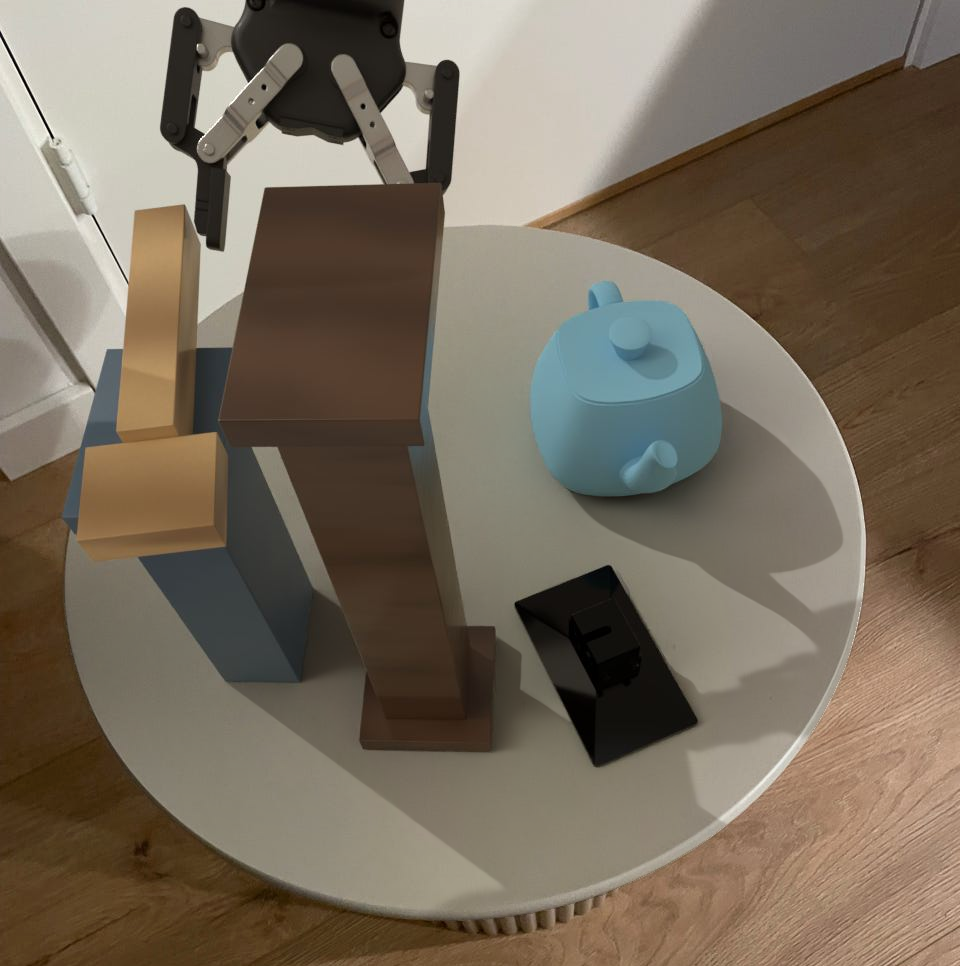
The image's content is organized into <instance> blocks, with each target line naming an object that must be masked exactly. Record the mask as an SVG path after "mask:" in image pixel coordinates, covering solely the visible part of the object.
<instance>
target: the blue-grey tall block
mask: <svg viewBox="0 0 960 966" xmlns="http://www.w3.org/2000/svg"><path fill="white" fill-rule="evenodd" d="M232 348H233V346H231V347H197V348H196V372H195V397H194V421H193V435H195V434H203V433H211V432H217V433H218V435H219V438H220V440H221V442H222V444H223V446H224V448H225V450H226V452H227V454H228V488H227V534H226V547H218V548H209V549H201V550H192V551H183V552H175V553H166V554H158V555H149V556H141V557H137V559H138V561H139V562H140V563H141V565H142V566H143V568H144V569H145V570H146V572H147V573H148V575H149V576H150V577H151V579H152V580H153V581H154V583H155V584H156V586H157V587H158V589H159V590H160V591H161V593H162V595H163V596H164V597H165V599H166V600H167V601H168V604H170V606H171V608H172V609H173V610H174V611H175V613H176V614H177V616H178V618H179V619H180V620H181V621H182V623H183V624H184V626H185V627H186V628H187V630H188V631H189V633H190V634H191V635H192V637H193V638H194V640H195V641H196V642H197V644H198V646H199V647H200V648H201V650H202V651H203V653H204V654H205V655H206V657H207V658H208V659H209V661H210V662H211V664H212V666H213V667H214V668H215V670H216V671H217V673H218V674H219V675H220V677H221V678H222V680H223V681H224V682H238V683H243V682H244V683H245V682H246V683H249V682H250V683H253V682H254V683H301V681H302V680H301V679H302V672H303V666H304V659H305V651H306V643H307V637H308V629H309V621H310V613H311V607H312V599H313V592H314V587H313V585H312V582H311V581H310V578H309V576H308V573H307V571H306V569H305V567H304V564H303V562H302V559H301V557H300V555H299V553H298V551H297V548H296V546H295V543H294V541H293V539H292V537H291V535H290V534H291V533H290V532H289V530H288V527H287V525H286V523H285V521H284V518H283V516H282V514H281V511H280V509H279V507H278V504H277V502H276V500H275V497H274V495H273V493H272V491H271V488H270V486H269V484H268V482H267V479H266V477H265V475H264V472H263V469H262V468H261V465H260V463H259V461H258V458H257V456H256V454H255V452H254V449H253V447H230V446H229V444H228V442H227V440H226V437H225V435H224V433H223V431H222V429H221V427H220V425H219V422H218V418H219V413H220V408H221V403H222V398H223V393H224V388H225V383H226V378H227V373H228V368H229V363H230V358H231V353H232ZM122 356H123V348H106V351H105V355H104V359H103V362H102V366H101V369H100V373H99V377H98V381H97V384H96V388H95V392H94V395H93V398H92V403H91V406H90V410H89V414H88V418H87V420H86V425H85V428H84V432H83V435H82V439H81V443H80V447H79V451H78V454H77V458H76V462H75V465H74V468H73V472H72V477H71V481H70V484H69V488H68V490H67V495H66V498H65V502H64V506H63V510H62V512H61V513H62V514H61V520H63V521H64V523H65V524H66V525H67V526H68V528H69V529H70V531H71V532H72V533H73V534H74V535H77V529H78V519H79V509H80V499H81V489H82V479H83V469H84V459H85V449H86V447H94V446H103V445H111V444H119V443H123V442H122V440H121V438H120V437H119V435H118V433H117V432H116V428H117V416H118V404H119V392H120V380H121V368H122Z"/></svg>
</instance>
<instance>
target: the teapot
mask: <svg viewBox="0 0 960 966" xmlns="http://www.w3.org/2000/svg"><path fill="white" fill-rule="evenodd" d="M587 308H588V309H587V310H586V311H583V312H581V313H578V314H576V315H573V316H572V317H569V318H568V319H567V320H565V321H564V322H563V323H561V325H559V327H557V329H556V330H555V332H554V333H553V334H552V336H551V337H550V339H549V340H548V341H547V344H546V345H545V346H544V348H543V350H542V351H541V353H540V356H539V358H538V359H537V361H536V364H535V367H534V370H533V376H532V379H531V383H530V390H529V413H530V419H531V421H530V422H531V427H532V432H533V436H534V440H535V444H536V446H537V448H538V451H539V453H540V455H541V458H542V461H543V463H544V464H545V466H546V468H547V470H548V472H549V474H550V475H551V476H552V478H553V479H555V481H556V482H558V483H559V484H561V485H562V486H563V487H564V488H566V489H568V490H570V491H572V492H573V493H577V494H580V495H585V496H593V497H626V496H635V495H640V494H653V493H657V492H661V491H663V490H666V489H667V488H669V487H670V486H671V485H673V484H676V483H678V482H680V481H682V480H684V479H686V478H688V477H690V476H692V475H694V474H695V473H697V472H699V471H700V470H702V469H703V468H704V467H705V466H707V464H709V463H710V462H711V461H712V459H713V457H714V456H715V455H716V454H717V452H718V450H719V447H720V446H721V445H720V444H721V439H722V432H723V431H722V430H723V415H722V408H721V400H720V396H719V395H720V394H719V391H718V386H717V381H716V378H715V374H714V371H713V368H712V365H711V362H710V360H709V358H708V355H707V353H706V350H705V348H704V346H703V343H702V342H701V340H700V338H699V335H698V334H697V332H696V330H695V328H694V327H693V325H692V322H691V321H690V319H689V317H688V315H687V314H686V313H685V311H684V310H683V309H682V308H681V307H680V306H678V305H676V304H674V303H672V302H669V301H663V300H654V299H652V300H650V299H649V300H645V299H643V300H630V301H628V300H627V301H624V298H623V296H622V293H621V291H620V288H619V286H618V285H617V284H616V283H615V282H614V281H612V280H600V281H597V282H595V283H593V284H592V285H590V287H589V288H588V293H587Z"/></svg>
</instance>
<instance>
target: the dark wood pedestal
mask: <svg viewBox="0 0 960 966" xmlns="http://www.w3.org/2000/svg"><path fill="white" fill-rule="evenodd" d="M257 218H258V219H257V224H256V229H255V234H254V239H253V244H252V248H251V254H250V259H249V264H248V268H247V273H246V279H245V284H244V288H243V294H242V299H241V304H240V309H239V313H238V318H237V324H236V328H235V332H234V333H235V334H234V338H233V344H232V347H233V348H232V353H231V358H230V363H229V368H228V373H227V378H226V383H225V388H224V393H223V398H222V403H221V408H220V413H219V418H218V422H219V425H220V427H221V429H222V431H223V433H224V435H225V437H226V440H227V442H228V444H229V446H230V447H252V448H277V450H278V453H279V455H280V458H281V460H282V463H283V465H284V468H285V470H286V473H287V475H288V478H289V480H290V483H291V485H292V488H293V491H294V493H295V495H296V498H297V500H298V503H299V504H300V508H301V510H302V513H303V516H304V518H305V520H306V523H307V525H308V529H309V530H310V533H311V535H312V538H313V540H314V543H315V545H316V548H317V550H318V553H319V555H320V558H321V561H322V563H323V565H324V569H325V570H326V573H327V576H328V578H329V580H330V582H331V585H332V586H331V587H332V588H333V590H334V593H335V595H336V598H337V600H338V604H339V606H340V608H341V610H342V613H343V616H344V618H345V620H346V622H347V625H348V628H349V631H350V633H351V636H352V638H353V640H354V643H355V645H356V648H357V650H358V653H359V655H360V658H361V661H362V663H363V666H364V668H365V679H364V686H363V687H364V688H363V697H362V706H361V717H360V724H359V725H360V726H359V735H358V736H359V737H358V742H359V744H360V747H361V748H362V750H364V751H366V750H367V751H409V752H411V751H415V752H416V751H417V752H458V753H459V752H462V753H463V752H464V753H465V752H467V753H468V752H469V753H492V746H493V726H494V725H493V724H494V703H495V702H494V701H495V681H496V680H495V679H496V678H495V677H496V659H497V658H496V657H497V630H496V626H495V625H467V619H466V615H465V608H464V603H463V598H462V592H461V586H460V580H459V575H458V570H457V564H456V557H455V552H454V547H453V541H452V535H451V530H450V524H449V518H448V512H447V507H446V501H445V495H444V491H443V485H442V479H441V473H440V469H439V461H438V456H437V451H436V444H435V439H434V434H433V428H432V422H431V417H430V410H429V400H430V390H431V379H432V367H433V357H434V356H433V355H434V344H435V333H436V332H435V331H436V321H437V311H438V297H439V288H440V287H439V286H440V274H441V263H442V253H443V240H444V232H445V231H444V230H445V218H446V210H445V201H444V195H443V193H442V185H441V183H412V184H383V183H380V184H379V183H376V184H375V183H373V184H341V185H339V184H338V185H337V184H336V185H303V186H302V185H300V186H267V187H264V188H263V194H262V198H261V204H260V208H259V213H258V217H257Z"/></svg>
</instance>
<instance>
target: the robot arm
mask: <svg viewBox="0 0 960 966" xmlns="http://www.w3.org/2000/svg"><path fill="white" fill-rule="evenodd" d="M404 7H405V0H245V1H244V7H243V10H242V13H241V15H240V17H239V19H238V21H237V22H236V24H235V25H234V26H233V25H229V24H225V23H221V22H218V21H214V20H211V19H206V18H202V17H200V16H199V15H198V13H197V11H195V10H194V9H193V8H191V7H187V6H183V7H180V8H178V9H177V10H176V11H175V13H174V15H173V21H172V29H171V36H170V44H169V51H168V60H167V67H166V76H165V83H164V91H163V98H162V107H161V115H160V124H159V131H160V134H161V136H162V137H163V139H164V140H165V141H166V142H167V143H168V144H169V145H170V147H171V148H172V149H173V150H175V151H177V152H180V153H182V154H184V155H185V156H187V157H189V158H191V159H192V160H193V161H195V164H196V168H197V175H196V189H195V202H194V214H193V225H194V228H195V231H196V233H197V235H199V236H201V237H205V247H206V248H207V249H208V250H209V251H210V250H211V251H217V252H221V253H224V252H225V249H226V240H227V229H228V228H227V227H228V215H229V204H230V193H231V191H230V190H231V180H232V176H231V174H230V173H229V172H228V165H229V164H230V163H231V162H232V161H233V160H234V159H235V158H236V157H237V156H238V155H239V153H240V152H242V150H243V149H244V148H245V147H246V146H247V145H248V144H250V143H252V142H253V141H254V140H255V139H256V138H257V137H258V136H259V135H260V134H261V132H262V131H264V129H265V128H266V127H267V126H268V125H269V124H270V125H272V127H274V128H275V129H276V130H279V131H280V132H281V134H282V135H286V136H292V137H307V136H315V137H316V138H319V139H321V140H323V141H324V142H327V143H330V144H334V145H340V146H344V144H345V143H350V142H353V141H355V140H356V139H358V141H359V143H360V144H361V147H362V148H363V150H364V152H365V154H366V156H367V158H368V160H369V162H370V163H371V165H372V166H373V168H374V169H375V171H376V173H377V176H378V178H379V179H380V181H381V184H412V183H441V185H442V193H443V196H444V195H445V194H446V192H447V191H448V189H449V187H450V185H451V183H452V179H453V178H452V177H453V165H454V153H455V138H456V126H457V113H458V100H459V89H460V88H459V87H460V77H461V76H460V74H461V73H460V68H459V66H458V64H457V63H456V62H455V61H453V60H452V59H443V60H441V61H439V63H437V65H433V64H426V63H419V62H412V61H405V58H404V54H403V52H402V48H401V47H402V46H401V33H402V26H403V25H402V24H403V15H404V9H405V8H404ZM226 53H233V56H234V58H235V60H236V61H235V62H236V63H237V64H238V67H239V68H240V70H241V73H242V74H243V76H244V78H245V80H246V81H247V85H246V86H245V87H244V88H243V89H242V90H241V91H240V92H239V93H238V94H237V96H236V97H235V98H234V99H233V100H232V101H231V102H230V103H229V104H228V106H227V107H226V108H225V110H224V112H223V114H222V115H221V117H220V118H219V119H218V120H217V121H216V122H215V123H214V124H213V125H212V126H211V128H209V130H208V131H207V132H206V133H205V132H202V131H201V130H199V129H197V128H196V120H197V113H198V107H199V98H200V92H201V85H202V77H203V72H211V71H214V69H215V68H216V67H217V66H218V63H219V60H220V58H221V56H222V55H224V54H226ZM403 87H405V88H408V89H409V90H410V91H411V93H413V95H414V98H415V105H416V108H417V110H419V112H420V113H422V114H424V115H427V116H429V117H428V118H429V119H428V130H427V131H428V132H427V142H426V143H427V146H426V159H425V168H424V169H419V170H417V169H416V170H412V171H410V170H409V169H408V167H407V165H406V162H405V161H404V159H403V157H402V155H401V153H400V151H399V149H398V147H397V144H396V141H395V139H394V136H393V135H392V133H391V131H390V129H389V126H388V125H387V123H386V121H385V119H384V117H383V115H382V113H383V111H384V110H385V109H386V108H387V107H388V106H389V105H390V104H391V103H392V101H393V100H394V99H395V98H396V97H397V96H398V95H399V94H400V92H401V91H402V89H403Z"/></svg>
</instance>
